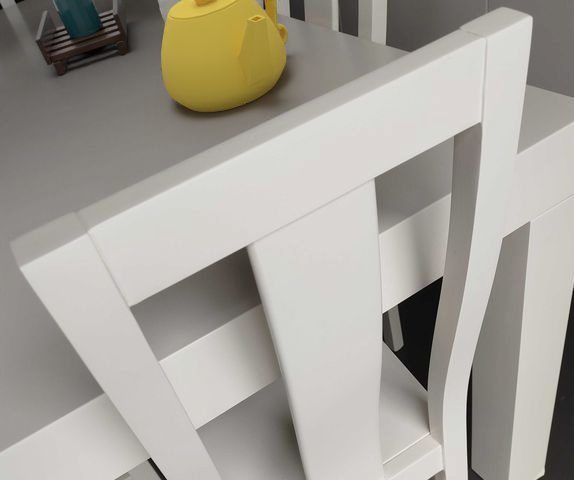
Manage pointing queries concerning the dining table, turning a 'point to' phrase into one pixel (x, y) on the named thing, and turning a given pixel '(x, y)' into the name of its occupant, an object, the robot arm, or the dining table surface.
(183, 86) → the teapot
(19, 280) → the dining table surface
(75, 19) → the cup
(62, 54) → the rack
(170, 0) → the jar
